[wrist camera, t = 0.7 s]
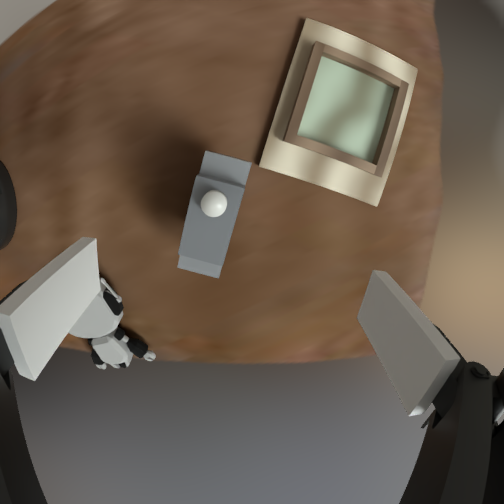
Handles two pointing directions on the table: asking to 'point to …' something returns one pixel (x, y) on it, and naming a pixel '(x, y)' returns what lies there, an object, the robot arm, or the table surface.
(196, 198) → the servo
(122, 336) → the robot toy
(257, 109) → the table surface
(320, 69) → the pocket board
